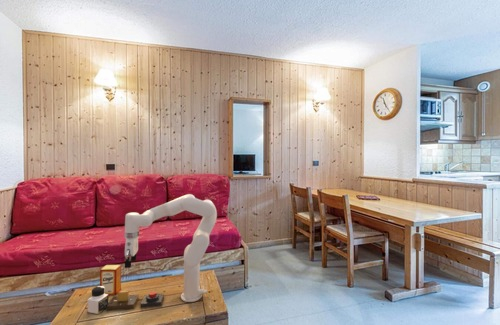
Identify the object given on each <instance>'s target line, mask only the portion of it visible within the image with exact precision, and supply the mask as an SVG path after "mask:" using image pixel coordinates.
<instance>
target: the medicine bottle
mask: <svg viewBox="0 0 500 325" xmlns="http://www.w3.org/2000/svg"><path fill="white" fill-rule="evenodd" d="M108 303H109V295H108V294H105V287H103V286H100V285H98V286H95V287H93V288H92V289H91V297H88V299H87V313H91V314H97V315H99V314H100V313H102V312H103V311H105V310H106V307H107V305H108Z"/></svg>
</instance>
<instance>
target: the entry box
mask: <svg viewBox="0 0 500 325" xmlns="http://www.w3.org/2000/svg"><path fill="white" fill-rule="evenodd" d="M164 297H165V294H164V293H158V292H156V296H155V297H152V298H151V297H149V293H148V294H144V295H143V298H142V300H141V302H140V308H153V307H162V304H163V301H164Z"/></svg>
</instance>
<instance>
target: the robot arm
mask: <svg viewBox="0 0 500 325" xmlns="http://www.w3.org/2000/svg"><path fill="white" fill-rule="evenodd" d="M184 211H187V212H189V213H191V214H195V215H197V216H198V215H199V216H201V220H200V223H199V224H198V226H197V228H196V230H195V231H194V233H193V236H192V241H191V243H190V244H188V245H187V246H186V247H185V248H184V250H183V291H182V293H181V294H180V300H181V301H183V302H184V303H194V302H197V301H199V300H201V299H202V297H203V295H206V294H208V290H207V289H206V288H201V285H200V282H201V261H202V259H203V257H204V255H205V253H206V251H207V249H208V247H209V245H210V235H211V233H212V231H213V229H214V227H215V224H216V222H217V219H218V212H217V211H218V210H217V208H216V206H215V203H214V202H213V201H212V200H210V199H204V200H202V199H199V198H197V197H195V195H193V194H192V193H187V194H185V195H182V196H180V197H177V198H175V199H173V200H170V201H168V202H165V203H162V204H160V205H157V206H155V207H152V208H150V209H148V210H145V211H144V212H143V213H141V214H140V213H139V212H128V213H126V214H125V218H124V239H125V242H124V268H125V269H131V268H132V262H136V261H137V253H138V251H139V237H140V228H148V227H150V226H151V225H152V224H153V222H155V221H157V220H159V219H161V218H164V217H173V216H176V215H177V214H180V213H182V212H184Z"/></svg>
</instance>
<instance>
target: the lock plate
mask: <svg viewBox="0 0 500 325" xmlns="http://www.w3.org/2000/svg"><path fill="white" fill-rule="evenodd" d="M139 297H140V296H139V294H129V299H128V301H118V295H112V297H111V299H110V300H109V301H108V305H107V307H106V309H105V310H106V312H109V311H121V310H133V309H135V307H136V304H137V303H138V300H139Z"/></svg>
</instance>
